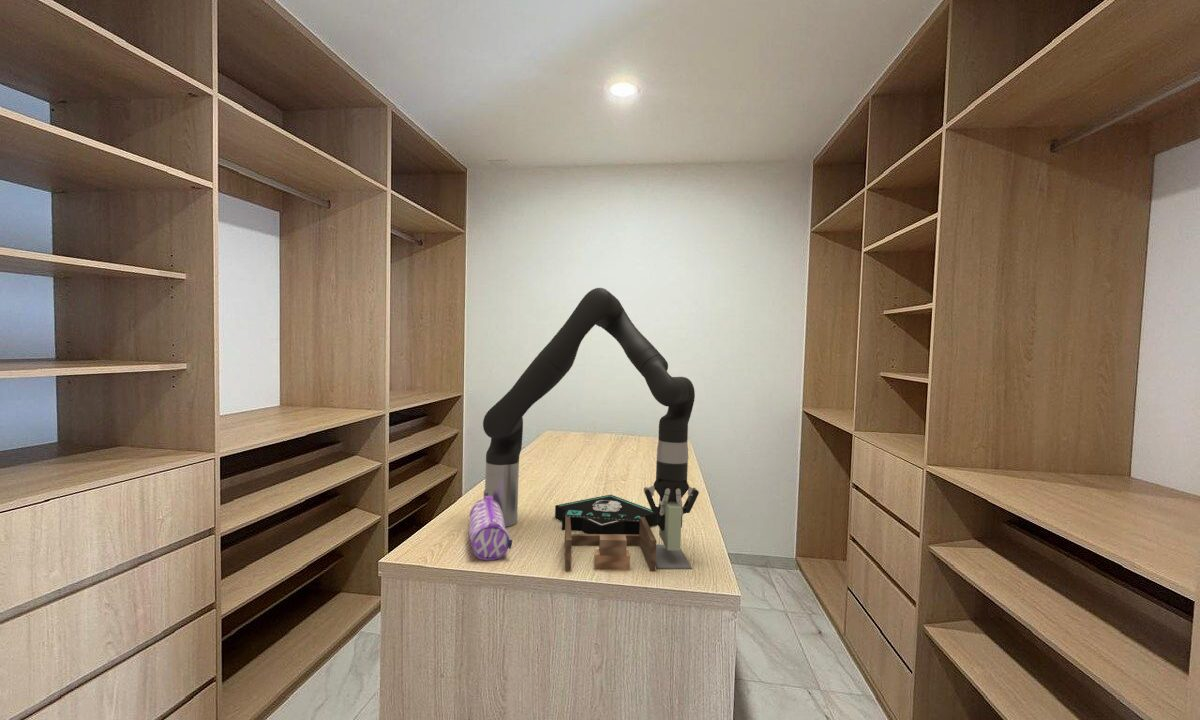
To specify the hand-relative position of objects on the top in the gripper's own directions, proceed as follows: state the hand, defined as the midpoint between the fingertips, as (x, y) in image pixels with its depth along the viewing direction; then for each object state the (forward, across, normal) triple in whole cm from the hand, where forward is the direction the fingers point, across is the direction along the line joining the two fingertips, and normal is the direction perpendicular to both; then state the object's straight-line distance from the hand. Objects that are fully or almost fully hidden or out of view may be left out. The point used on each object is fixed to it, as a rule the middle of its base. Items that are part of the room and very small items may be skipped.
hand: (669, 529), depth 126 cm
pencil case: (+7, +44, -7) cm, 46 cm away
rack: (+7, +15, 0) cm, 16 cm away
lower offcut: (+7, +15, +6) cm, 17 cm away
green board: (+3, 0, 0) cm, 3 cm away
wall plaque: (+7, +13, -25) cm, 29 cm away
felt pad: (+7, 0, 0) cm, 7 cm away
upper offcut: (+3, +14, +6) cm, 16 cm away
